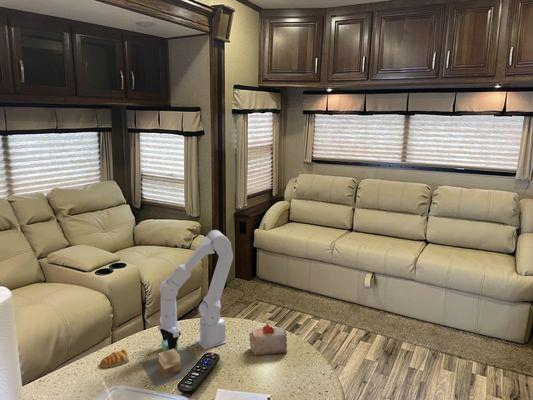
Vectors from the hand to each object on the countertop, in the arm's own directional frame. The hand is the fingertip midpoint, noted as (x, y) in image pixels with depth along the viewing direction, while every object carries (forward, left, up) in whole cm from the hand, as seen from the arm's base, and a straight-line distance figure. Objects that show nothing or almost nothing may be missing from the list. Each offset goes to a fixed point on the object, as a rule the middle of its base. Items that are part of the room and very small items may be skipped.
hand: (169, 346), depth 152 cm
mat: (+3, +11, -1) cm, 11 cm away
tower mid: (+5, +13, +2) cm, 14 cm away
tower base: (+5, +13, -1) cm, 14 cm away
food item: (-31, +20, -2) cm, 37 cm away
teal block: (0, 0, -1) cm, 1 cm away
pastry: (+19, -2, -2) cm, 19 cm away
